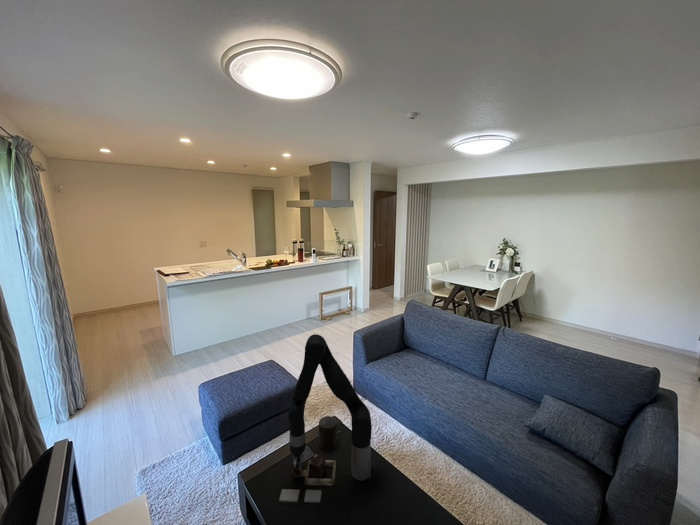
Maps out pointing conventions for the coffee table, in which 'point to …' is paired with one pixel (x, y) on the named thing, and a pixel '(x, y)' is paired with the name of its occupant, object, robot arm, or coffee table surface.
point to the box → (317, 466)
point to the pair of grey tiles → (293, 495)
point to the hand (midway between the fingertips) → (298, 471)
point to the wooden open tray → (318, 480)
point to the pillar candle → (327, 433)
